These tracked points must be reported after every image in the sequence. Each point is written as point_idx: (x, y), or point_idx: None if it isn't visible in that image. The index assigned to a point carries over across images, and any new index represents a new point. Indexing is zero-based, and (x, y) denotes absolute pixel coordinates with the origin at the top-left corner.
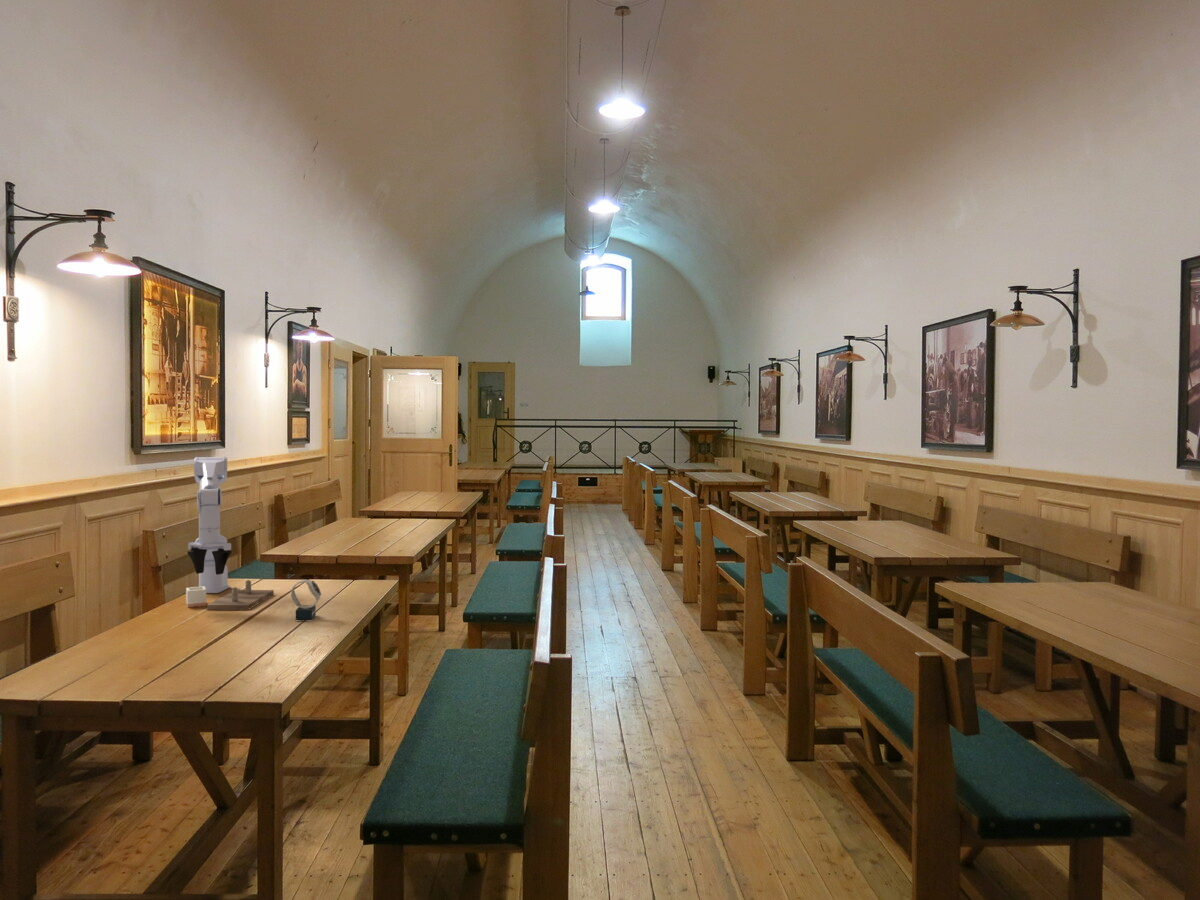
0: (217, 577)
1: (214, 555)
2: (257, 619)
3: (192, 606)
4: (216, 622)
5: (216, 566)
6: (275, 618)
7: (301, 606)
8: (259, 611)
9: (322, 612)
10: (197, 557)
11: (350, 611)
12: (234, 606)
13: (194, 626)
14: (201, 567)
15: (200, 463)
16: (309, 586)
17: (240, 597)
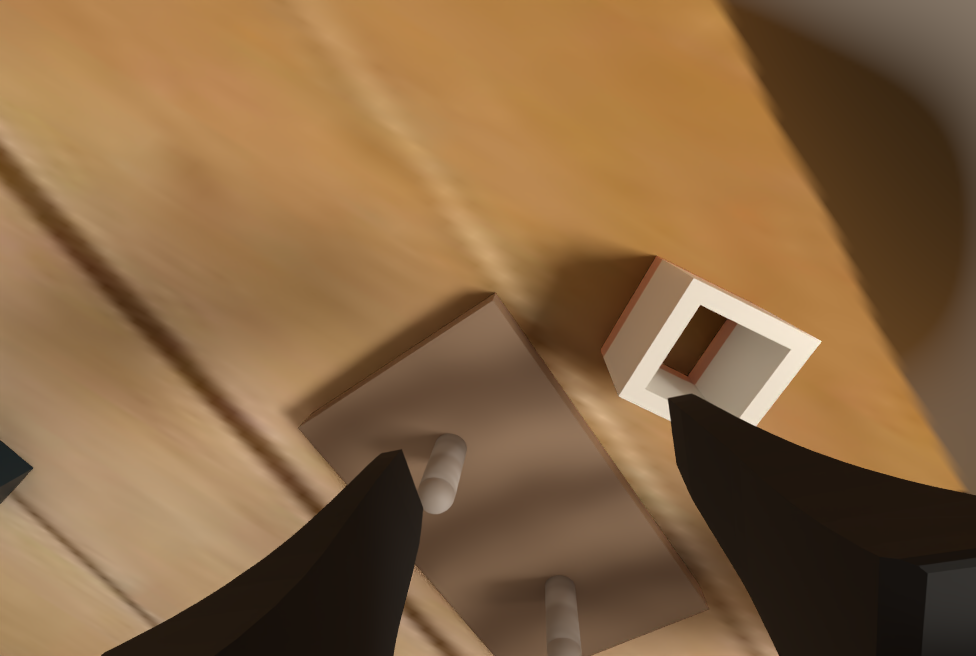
0: None
1: (227, 619)
2: (92, 323)
3: (642, 282)
4: (167, 151)
5: (344, 502)
6: (58, 384)
7: None
8: (245, 426)
9: (40, 552)
10: (786, 554)
11: None
12: (359, 384)
13: (158, 3)
14: (701, 487)
15: None
16: None
17: (506, 512)
